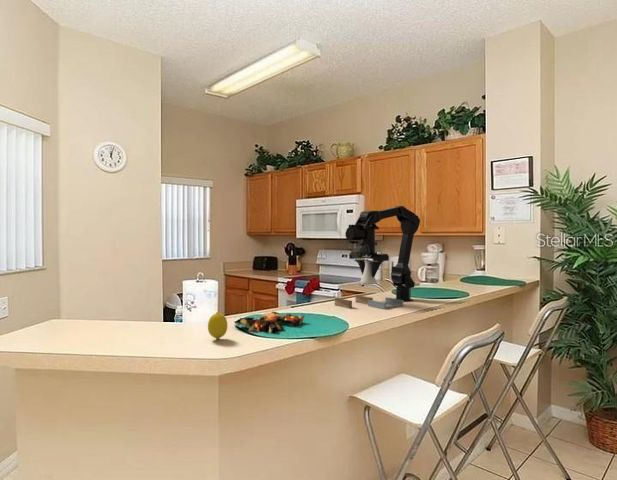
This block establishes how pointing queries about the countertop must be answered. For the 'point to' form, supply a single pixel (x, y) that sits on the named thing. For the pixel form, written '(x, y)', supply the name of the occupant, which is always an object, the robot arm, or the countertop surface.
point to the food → (269, 322)
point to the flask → (367, 274)
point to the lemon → (217, 325)
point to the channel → (349, 303)
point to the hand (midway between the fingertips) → (368, 276)
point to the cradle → (386, 303)
